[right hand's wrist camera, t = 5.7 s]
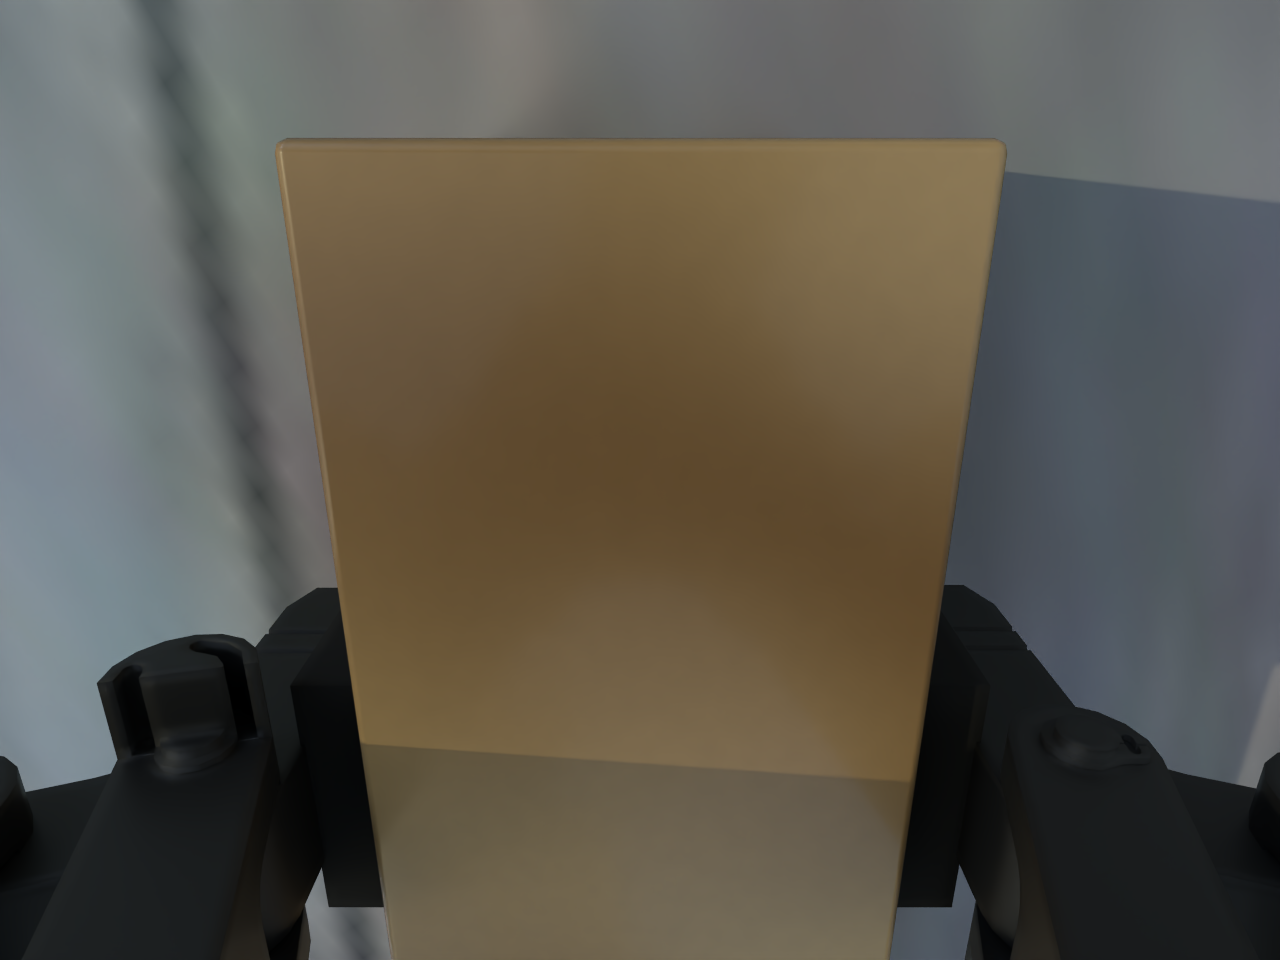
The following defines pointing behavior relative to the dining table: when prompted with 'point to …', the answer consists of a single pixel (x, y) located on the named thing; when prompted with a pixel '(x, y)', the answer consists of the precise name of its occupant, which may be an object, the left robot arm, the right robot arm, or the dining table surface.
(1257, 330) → the dining table surface
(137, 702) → the right robot arm
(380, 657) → the bar
